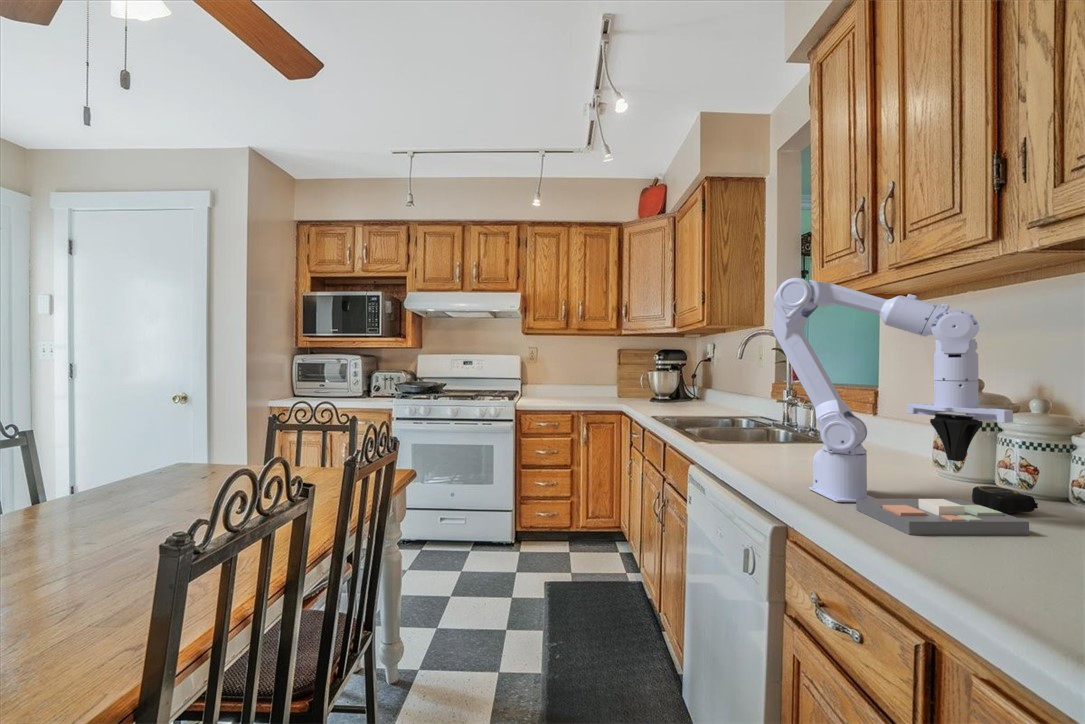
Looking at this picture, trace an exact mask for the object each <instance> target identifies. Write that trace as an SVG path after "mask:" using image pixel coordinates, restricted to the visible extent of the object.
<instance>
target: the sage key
mask: <svg viewBox="0 0 1085 724" xmlns="http://www.w3.org/2000/svg"><path fill="white" fill-rule="evenodd" d="M962 506H964V509H965V512H968V513H971V514H973V515H976V516H1003V513H1002V512H999V511H996V510H993V509H990V508H987V507H984V506H981V505H962Z"/></svg>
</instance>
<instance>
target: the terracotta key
mask: <svg viewBox="0 0 1085 724" xmlns="http://www.w3.org/2000/svg"><path fill="white" fill-rule="evenodd" d="M882 508H883V509H886V510H888V511H890V512H893V513H895V514H897V515H900V516H926V512H923V511H921V510H918V509H915V508H913V507H910V506H908V505H882Z"/></svg>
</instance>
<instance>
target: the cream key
mask: <svg viewBox="0 0 1085 724" xmlns="http://www.w3.org/2000/svg"><path fill="white" fill-rule="evenodd" d="M918 499H919V508H920V509H922V510H925V511H928V512H930V513H933V514H935V515H938V516H941V515H954V516H957V515H965V509H964V506H962V505H959V504H956V503H953V502H950V501H947V500H944V499H945V498H918Z"/></svg>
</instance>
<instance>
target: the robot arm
mask: <svg viewBox="0 0 1085 724" xmlns="http://www.w3.org/2000/svg"><path fill="white" fill-rule="evenodd" d="M772 301H773V306H774V308H773V322H772V331H773V335H774V336H775V338H776V340H777V342H778V344H779V346H780V348H781V349H782V351H783V353H784V354H785V356H786V358H787V360H788V362H789V364H790V365H791V368H792V369H793V371H794V373H795V375H796V377H797V379H798V381H799V382H800V384H801V386H802V387H803V389H804V390H805V393H806V394H807V397H808V398H809V400H810V402H811V404H812V406H813V408H814V411H815V418H816V421H817V423H818V426H819V428H820V429H819V430H820V434H819V436H820V440H821V441H822V443H823V445H822V448H819V449H818V450H817V451H816V452H815V454H814V456H813V458H812V480H813V481H812V486H808V490H811V491H813V492H815V493H816V494H819V495H821V496H823V497H825V498H827V499H829V500H831V501H834V502H836V503H856V499H877V498H875V497H874V496H871V495H868V475H867V474H868V467H867V466H868V465H867V464H868V460H867V458H868V457H867V455H868V454H867V453H868V452H867V449H865V448H864V446H863V443H864V442H865V440H867V439H866V438H867V436H868V428H867V426H866V423H865V422H864V421H863V420H862V419H860V418H859V417H857V416H856V415H855V414H854V413H853V412H852V410H851V408H850V407H849V406H848V405H847V403H846V402H845V401H844V400H843V399H842V398H841V396H840V394H839V392H838V391H837V389H836V387H835V385H834V384H833V382H832V380H831V379H830V377H829V375H828V373H827V371H826V370H825V368H824V367H823V364H822V362H821V361H820V359H819V357H818V355H817V354H816V352H815V351H814V349H813V346H812V345H811V343H810V342H809V339H808V338H807V336H806V335H805V333H804V327H805V325H806V323H807V321H808V319H809V317H810V316H811V315H812V314H813V313H814V312H815V311H816V310H817V309H818V308H819V307H822V308H828V307H830V306H834V305H838V306H843V307H846V308H850V309H854V310H858V311H861V312H865V313H869V314H873V315H877V316H879V317H880V318H881V320H882V322H883V324H884V325H885V326H888V327H891V328H893V329H898V330H902V331H905V332H908V333H911V334H915V335H918V336H921V337H928V336H933V337H934V338H935V342H934V343H935V348H934V350H935V352H934V354H933V403H920V402H919V403H918V402H911V403H907V404H906V405H907V410H906V411H907V414H909V415H924V416H925V415H926V416H934V418H930V419H929V422H930V425H931V426H932V427H933V428H934V430H935V432H936V433H937V434H938V437H939V439H940V441H941V443H942V445H943V449H944V451H945V454H946V458H947V460H948V461H951V462H952V461H953V462H963V461H964V462H965V459H966V457H967V453H968V450H969V448H970V445H971V442H972V441H973V439H974V437H975V435H976V434H977V433H978V431H979V430H980V429H981V427H982V426H983V424H984V423H983V421H987V422H988V421H989V422H997V423H1002V424H1006V423H1014V411H1013V409H1002V408H991V407H982V406H979V354H978V353H977V350H978V341H976V338H975V337H976V336H977V334H978V332H979V331H980V325H979V322H978V320H977V318H976V316H974V315H973V314H972V313H971V312H969V311H967V310H962V309H952V310H951V309H950V310H949V308H950V305H949V304H947V303H942V304H941V305H940V304H936V303H935V304H934V303H932V302H928V301H924V300H920V299H918V296H917V295H914V294H911V293H909V294H907V296H904V295H897V296H895V297H892V298H890V299H886V298H882V297H879V296H875V295H872V294H869V293H865V292H862V291H858V290H855V289H851V288H848V287H847V286H846V287H845V286H841V285H839V284H835V283H830V282H825V281H820V280H819V281H818V280H812V279H809V282H808V281H807V280H805V278H804V279H803V278H799V277H792V278H789V279H786V280H785V281H783V282H782V283H781V284H780V286H779V287H778V289H777V290H776V292H775V295H774V297H773V299H772ZM954 413H957V414H954ZM958 413H959V414H958ZM963 414H964V415H963Z"/></svg>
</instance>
